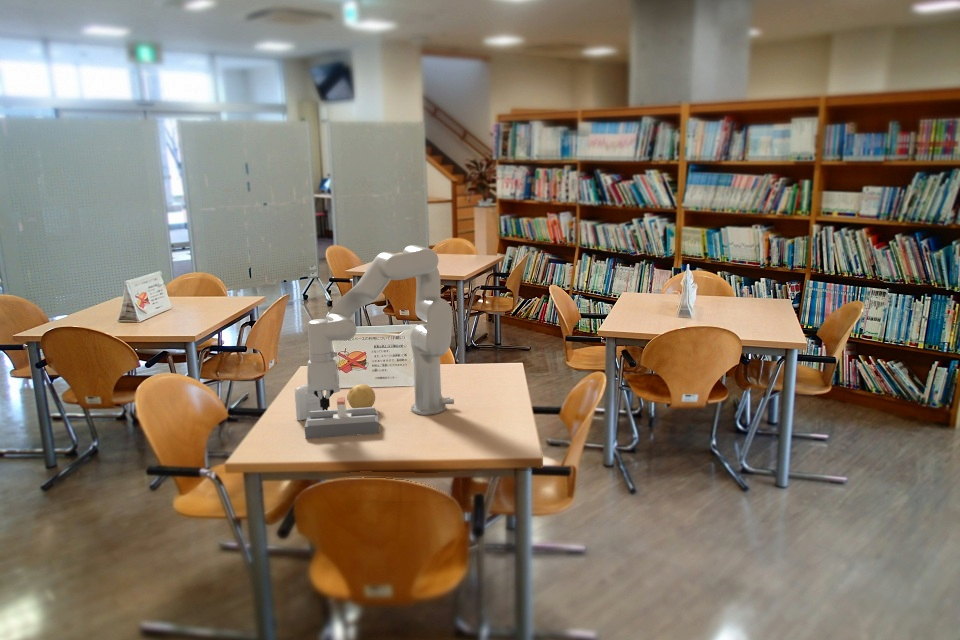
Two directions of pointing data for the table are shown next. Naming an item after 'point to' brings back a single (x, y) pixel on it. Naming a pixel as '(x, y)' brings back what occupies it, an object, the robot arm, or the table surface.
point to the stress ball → (361, 396)
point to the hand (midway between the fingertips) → (325, 409)
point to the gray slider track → (341, 423)
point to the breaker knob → (341, 408)
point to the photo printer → (305, 402)
